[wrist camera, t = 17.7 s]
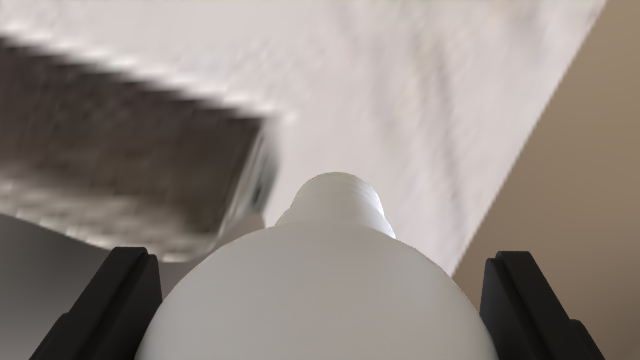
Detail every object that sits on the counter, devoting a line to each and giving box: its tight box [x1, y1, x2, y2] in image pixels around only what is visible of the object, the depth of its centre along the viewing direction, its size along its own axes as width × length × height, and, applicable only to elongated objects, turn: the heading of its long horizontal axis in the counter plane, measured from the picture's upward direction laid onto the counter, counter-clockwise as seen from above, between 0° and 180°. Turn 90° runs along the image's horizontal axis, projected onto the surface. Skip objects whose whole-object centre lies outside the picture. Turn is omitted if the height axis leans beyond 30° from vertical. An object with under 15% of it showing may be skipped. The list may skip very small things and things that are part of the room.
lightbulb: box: [134, 172, 499, 360], centre depth 12 cm, size 6×6×11 cm
